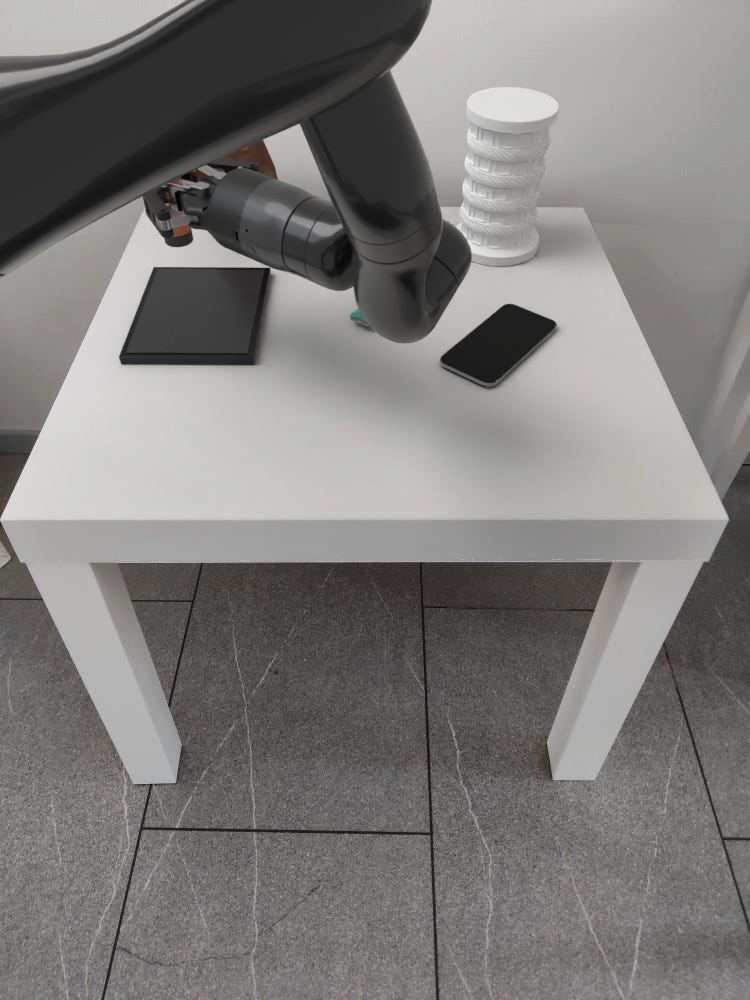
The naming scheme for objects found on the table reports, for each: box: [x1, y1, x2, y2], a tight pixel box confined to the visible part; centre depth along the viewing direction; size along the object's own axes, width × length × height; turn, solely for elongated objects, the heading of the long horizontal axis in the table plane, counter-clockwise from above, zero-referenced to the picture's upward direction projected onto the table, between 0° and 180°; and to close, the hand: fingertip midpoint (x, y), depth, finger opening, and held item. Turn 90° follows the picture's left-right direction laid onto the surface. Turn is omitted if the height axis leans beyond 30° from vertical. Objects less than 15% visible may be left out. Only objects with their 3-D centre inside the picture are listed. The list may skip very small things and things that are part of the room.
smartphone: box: [439, 303, 557, 388], centre depth 88 cm, size 7×1×15 cm
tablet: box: [118, 266, 272, 366], centre depth 92 cm, size 15×19×1 cm
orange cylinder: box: [163, 176, 194, 248], centre depth 78 cm, size 3×3×11 cm
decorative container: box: [455, 86, 560, 267], centre depth 97 cm, size 12×12×18 cm
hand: (147, 173), depth 78 cm, fingers closed on orange cylinder, 3 cm apart
